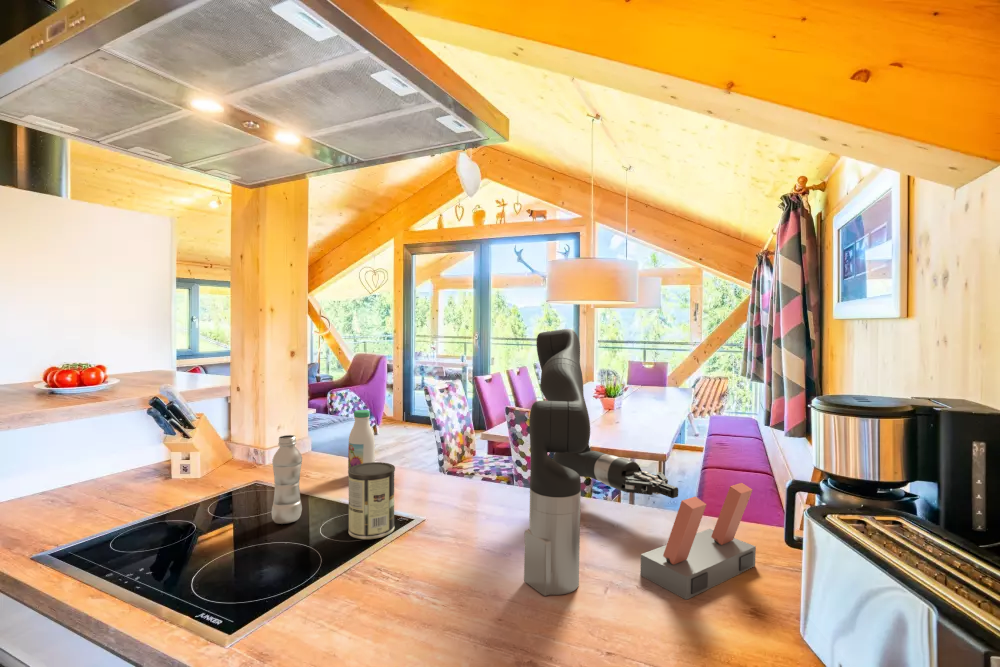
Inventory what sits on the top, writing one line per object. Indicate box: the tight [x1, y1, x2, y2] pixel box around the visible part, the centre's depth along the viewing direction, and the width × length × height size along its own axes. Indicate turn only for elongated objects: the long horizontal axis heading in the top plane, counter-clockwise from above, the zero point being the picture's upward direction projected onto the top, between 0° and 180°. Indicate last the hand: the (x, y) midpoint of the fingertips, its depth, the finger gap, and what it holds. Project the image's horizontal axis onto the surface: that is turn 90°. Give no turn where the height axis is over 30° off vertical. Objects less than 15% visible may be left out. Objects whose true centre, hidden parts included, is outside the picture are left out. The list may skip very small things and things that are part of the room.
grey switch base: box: [640, 528, 757, 601], centre depth 97 cm, size 22×10×4 cm, turn 124°
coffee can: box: [347, 461, 396, 540], centre depth 114 cm, size 10×10×14 cm
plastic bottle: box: [271, 434, 303, 525], centre depth 118 cm, size 6×7×20 cm
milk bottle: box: [347, 409, 376, 477], centre depth 152 cm, size 8×8×20 cm
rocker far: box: [711, 482, 753, 545], centre depth 100 cm, size 4×2×12 cm, turn 124°
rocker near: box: [663, 496, 707, 565], centre depth 91 cm, size 4×3×12 cm, turn 124°
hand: (676, 493), depth 110 cm, fingers closed
